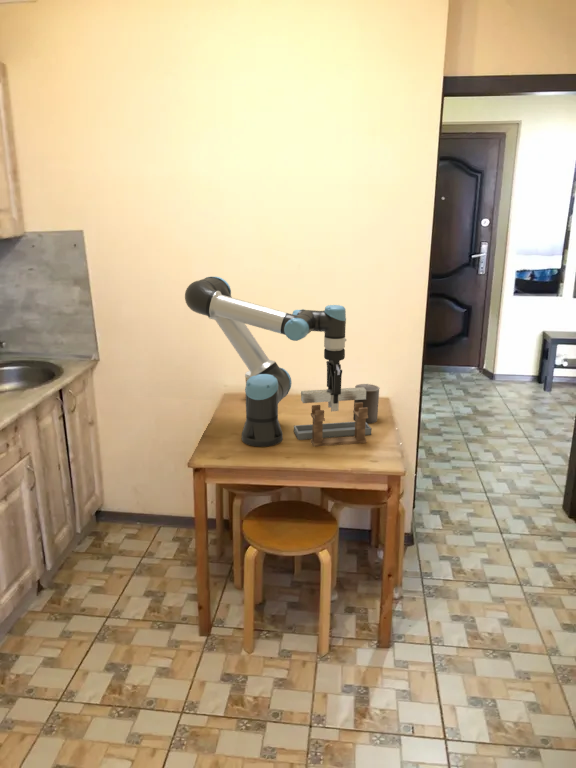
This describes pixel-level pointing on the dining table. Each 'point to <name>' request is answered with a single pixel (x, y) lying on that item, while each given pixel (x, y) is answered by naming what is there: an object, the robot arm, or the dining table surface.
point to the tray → (329, 430)
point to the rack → (359, 437)
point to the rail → (325, 396)
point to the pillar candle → (370, 402)
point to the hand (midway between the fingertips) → (333, 408)
